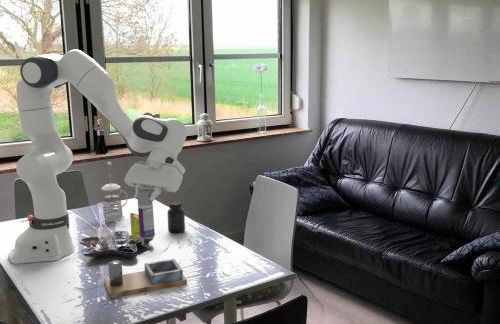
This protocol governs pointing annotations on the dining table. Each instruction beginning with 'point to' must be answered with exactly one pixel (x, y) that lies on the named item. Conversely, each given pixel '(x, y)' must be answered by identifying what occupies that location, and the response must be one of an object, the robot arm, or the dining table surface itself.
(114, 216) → the french press
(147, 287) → the wooden board
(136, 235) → the crayon box
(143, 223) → the container
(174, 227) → the supplement bottle
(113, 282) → the metal post
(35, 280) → the dining table surface
